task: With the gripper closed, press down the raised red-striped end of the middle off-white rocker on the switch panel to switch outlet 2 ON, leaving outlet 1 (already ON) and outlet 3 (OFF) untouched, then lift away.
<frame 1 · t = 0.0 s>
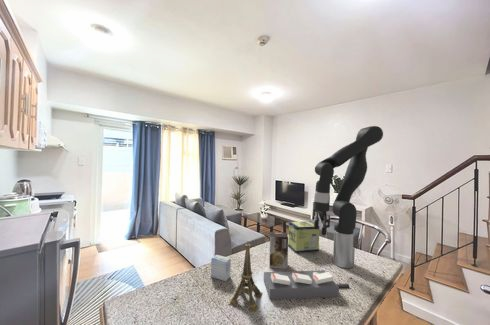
hand: (319, 231, 106), 17 cm above the table, tool pointing down, fingers open, 8 cm apart
rocker 3: (280, 278, 82), point 6 cm above the table, hinge at -11.0°
medicine box: (220, 277, 92), on the table
eiffel tower: (246, 299, 78), on the table
coffee box: (277, 265, 104), on the table
protein box: (303, 249, 125), on the table
rocker 2: (301, 278, 83), point 6 cm above the table, hinge at -11.0°
switch panel: (299, 288, 85), on the table
rocker 1: (322, 277, 84), point 6 cm above the table, hinge at 11.0°
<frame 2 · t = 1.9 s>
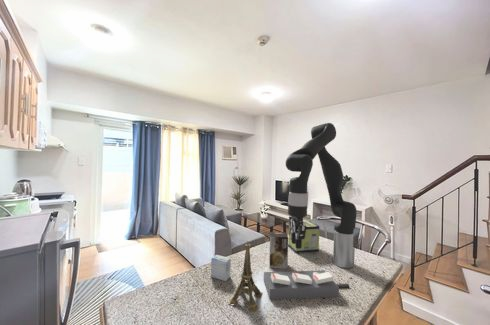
hand: (296, 245, 82), 19 cm above the table, tool pointing down, fingers open, 4 cm apart
nothing on the table moved.
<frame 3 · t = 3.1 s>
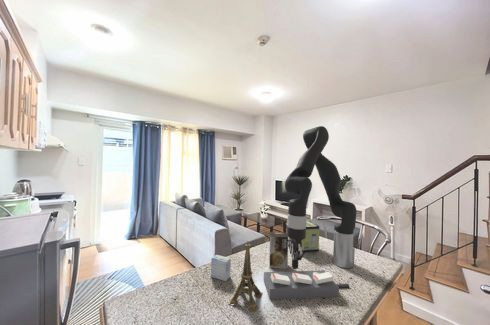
hand: (294, 267, 83), 10 cm above the table, tool pointing down, fingers closed
nothing on the table moved.
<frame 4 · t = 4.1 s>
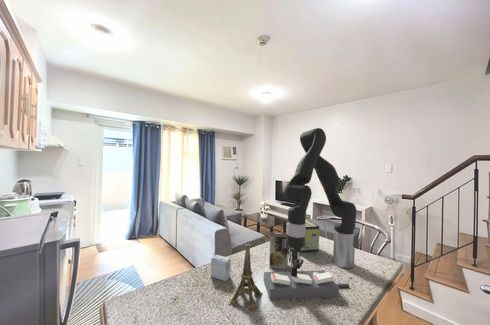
hand: (293, 275, 83), 7 cm above the table, tool pointing down, fingers closed
rocker 2: (301, 278, 83), point 6 cm above the table, hinge at -8.9°, touching gripper
everything else where it was.
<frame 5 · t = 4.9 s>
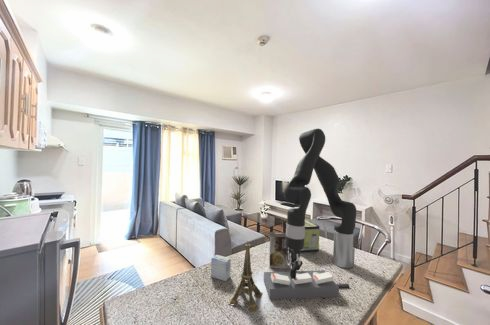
hand: (292, 277, 82), 6 cm above the table, tool pointing down, fingers closed
rocker 2: (301, 278, 83), point 6 cm above the table, hinge at 7.7°, touching gripper
everything else where it was.
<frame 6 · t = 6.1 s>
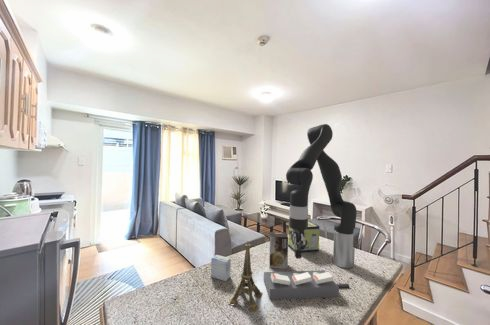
hand: (297, 257, 84), 14 cm above the table, tool pointing down, fingers closed
rocker 2: (301, 278, 83), point 6 cm above the table, hinge at 13.8°
everything else where it was.
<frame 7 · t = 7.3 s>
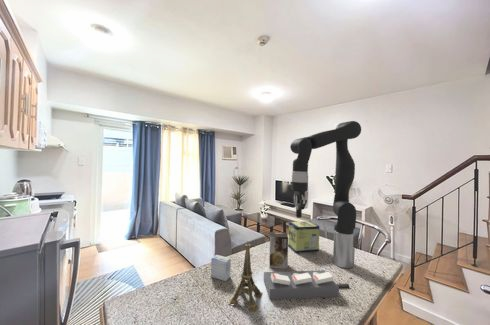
hand: (298, 217, 96), 27 cm above the table, tool pointing down, fingers closed
rocker 2: (301, 278, 83), point 6 cm above the table, hinge at 9.3°
everything else where it was.
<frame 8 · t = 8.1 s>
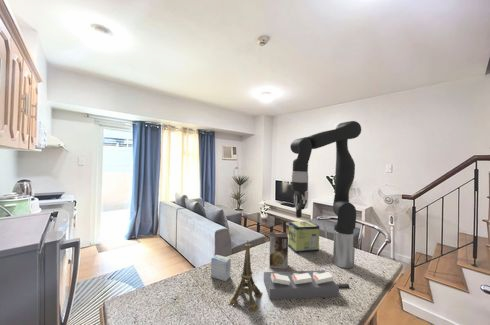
hand: (298, 217, 96), 27 cm above the table, tool pointing down, fingers closed
rocker 2: (301, 278, 83), point 6 cm above the table, hinge at 7.5°
everything else where it was.
at the end: rocker 2 at +7° (first picture: -11°); rocker 1 at +11° (first picture: +11°); rocker 3 at -11° (first picture: -11°) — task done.
